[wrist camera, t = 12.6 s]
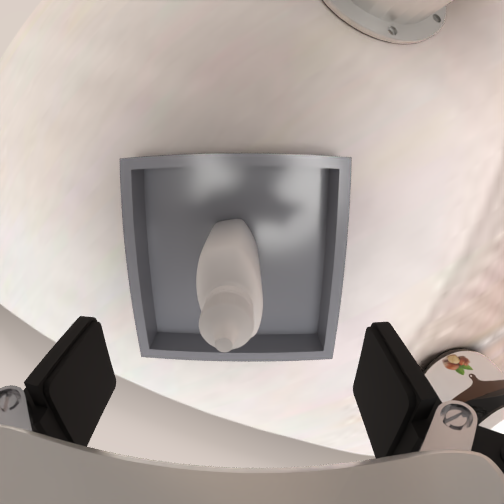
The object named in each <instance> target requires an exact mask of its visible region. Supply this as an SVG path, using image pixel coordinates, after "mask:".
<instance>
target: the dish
mask: <svg viewBox="0 0 504 504" xmlns="http://www.w3.org/2000/svg"><path fill="white" fill-rule="evenodd" d="M351 161H352V157H338V156H322V155H302V154H271V153H212V154H181V155H161V156H146V157H132V158H121V159H120V183H121V203H122V218H123V230H124V242H125V252H126V261H127V270H128V278H129V285H130V293H131V299H132V306H133V312H134V319H135V325H136V330H137V336H138V341H139V347H140V352H141V357H151V358H165V359H181V360H202V361H299V360H320V359H332V357H333V351H334V345H335V339H336V332H337V325H338V318H339V310H340V303H341V294H342V286H343V277H344V267H345V257H346V246H347V234H348V221H349V206H350V187H351ZM231 219H242V220H243V221H244V222H245V223H246V224H247V226H248V227H249V229H250V231H251V233H252V235H253V237H254V240H255V242H256V246H257V249H258V255H259V264H260V273H261V283H262V293H263V312H262V318H261V323H260V326H259V329H258V331H257V333H256V334H255V335H254V336H253V337H251V338H250V340H248V342H247V343H245V344H244V345H242V346H241V347H239V348H235V349H232V350H230V351H229V352H220V351H218V350H217V349H216V348H215V347H213V346H212V345H210V344H208V342H206V341H205V339H204V338H203V337H202V336H201V334H200V330H199V318H200V315H201V309H200V306H199V302H198V297H197V289H196V276H197V267H198V262H199V258H200V254H201V252H202V249H203V247H204V245H205V242H206V240H207V238H208V236H209V234H210V232H211V230H212V228H213V226H214V225H215V223H217V222H220V221H225V220H231Z"/></svg>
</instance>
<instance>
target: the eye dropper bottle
mask: <svg viewBox="0 0 504 504" xmlns="http://www.w3.org/2000/svg"><path fill="white" fill-rule="evenodd" d="M196 289H197V297H198V302H199V306H200V309H201V315H200V318H199V330H200V334H201V336H202V337H203V338H204V339H205V341H206V342H208V344H210V345H212V346H213V347H215V348H216V349H217V350H218V351H220V352H229V351H230V350H232V349H235V348H239V347H241V346H242V345H244V344H245V343H247V342H248V340H250V338H251V337H253V336H254V335H255V334H256V333H257V331H258V329H259V326H260V323H261V318H262V312H263V293H262V283H261V273H260V264H259V255H258V249H257V246H256V242H255V240H254V237H253V235H252V233H251V231H250V229H249V227H248V226H247V224H246V223H245V222H244V221H243V220H242V219H231V220H225V221H220V222H217V223H215V225H214V226H213V228H212V230H211V232H210V234H209V236H208V238H207V240H206V242H205V245H204V247H203V249H202V252H201V254H200V258H199V262H198V267H197V276H196Z"/></svg>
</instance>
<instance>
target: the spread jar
mask: <svg viewBox="0 0 504 504" xmlns="http://www.w3.org/2000/svg"><path fill="white" fill-rule="evenodd" d="M423 373H424V374H425V376H426V378H427V379H428V381H429V382H430V384H431V385H432V387H433V389H434V390H435V392H436V393H437V395H438V397H439V398H440V400H441V401H442V403H443V402H446V401H450V400H456V401H461V402H464V403H466V404H468V405H469V406H470V407H472V408H473V410H474V411H475V412H476V415H477V425H479V426H482V427H485V428H487V429H490V430H493V431H496V432H499V433H502V434H504V373H503V372H502V371H501V370H500V369H499V368H498V367H497V366H496V365H495V364H494V363H493V362H492V361H491V360H490V359H489V358H487V357H486V356H484V355H483V354H481V353H478V352H476V351H472V350H467V349H453V350H449V351H447V352H445V353H443V354H441V355H440V356H438V357H437V358H436V359H434V360H433V361H432V362H431V363H430V364H429V365H428V367H427V368H426V369H425V371H424V372H423Z"/></svg>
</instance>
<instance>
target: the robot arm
mask: <svg viewBox="0 0 504 504" xmlns="http://www.w3.org/2000/svg"><path fill="white" fill-rule="evenodd" d="M323 1H324V2H325V3H326V5H327V6H328V7H329V8H330V9H331V10H332V11H333V12H334V13H335V14H337V15H338V16H339V17H340V18H341V19H343V20H344V21H345V22H347V23H348V24H350V25H351V26H352V27H354V28H356V29H358V30H360V31H361V32H363V33H365V34H367V35H370V36H372V37H375V38H377V39H380V40H384V41H387V42H391V43H399V44H412V43H418V42H421V41H424V40H426V39H428V38H430V37H432V36H434V35H435V34H436V33H437V32H438V31H439V30H440V29H441V27H442V26H443V24H444V21H445V17H446V5H447V4H448V3H450V2H452V1H453V0H323ZM24 384H25V386H26V388H25V389H24V391H23V390H22V389H21V388H20V387H17V386H5V387H2V388H0V504H504V434H502V433H499V432H496V431H493V430H490V429H487V428H485V427H482V426H479V425H477V415H476V412H475V411H474V410H473V408H472V407H470V406H469V405H468V404H466V403H464V402H461V401H456V400H450V401H446V402H443V403H442V401H441V400H440V398H439V397H438V395H437V393H436V392H435V390H434V389H433V387H432V385H431V384H430V382H429V381H428V379H427V378H426V376H425V374H424V373H423V371H422V370H421V368H420V367H419V365H418V364H417V362H416V361H415V359H414V358H413V356H412V355H411V353H410V352H409V350H408V349H407V347H406V346H405V344H404V343H403V342H402V340H401V339H400V337H399V336H398V334H397V333H396V331H395V330H394V328H393V327H392V326H391V324H390V323H389V322H375V323H372V325H371V327H367V329H366V333H365V338H364V342H363V347H362V351H361V356H360V360H359V364H358V368H357V372H356V377H355V380H354V385H353V393H354V396H355V399H356V402H357V405H358V408H359V410H360V413H361V416H362V419H363V422H364V425H365V428H366V431H367V434H368V437H369V439H370V442H371V445H372V448H373V451H374V454H375V457H376V459H369V460H363V461H355V462H347V463H338V464H329V465H319V466H306V467H286V468H229V467H211V466H198V465H187V464H178V463H169V462H162V461H155V460H149V459H142V458H137V457H131V456H125V455H121V454H116V453H111V452H106V451H102V450H98V449H94V448H90V447H87V445H88V443H89V441H90V438H91V436H92V434H93V432H94V430H95V428H96V426H97V424H98V422H99V419H100V417H101V415H102V413H103V411H104V409H105V407H106V405H107V403H108V401H109V399H110V397H111V395H112V393H113V391H114V389H115V386H116V378H115V375H114V371H113V368H112V364H111V361H110V357H109V354H108V350H107V346H106V342H105V338H104V334H103V330H102V326H101V324H100V322H97V320H96V318H94V317H85V316H80V317H79V318H78V319H77V320H76V321H75V322H74V323H73V325H72V326H71V327H70V328H69V329H68V330H67V331H66V332H65V334H64V335H63V336H62V337H61V338H60V339H59V341H58V342H57V343H56V344H55V345H54V346H53V348H52V349H51V350H50V351H49V352H48V354H47V355H46V356H45V357H44V358H43V359H42V361H41V362H40V363H39V364H38V365H37V367H36V368H35V369H34V370H33V372H32V373H31V374H30V375H29V377H28V378H27V379H26V380H25V382H24Z"/></svg>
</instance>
